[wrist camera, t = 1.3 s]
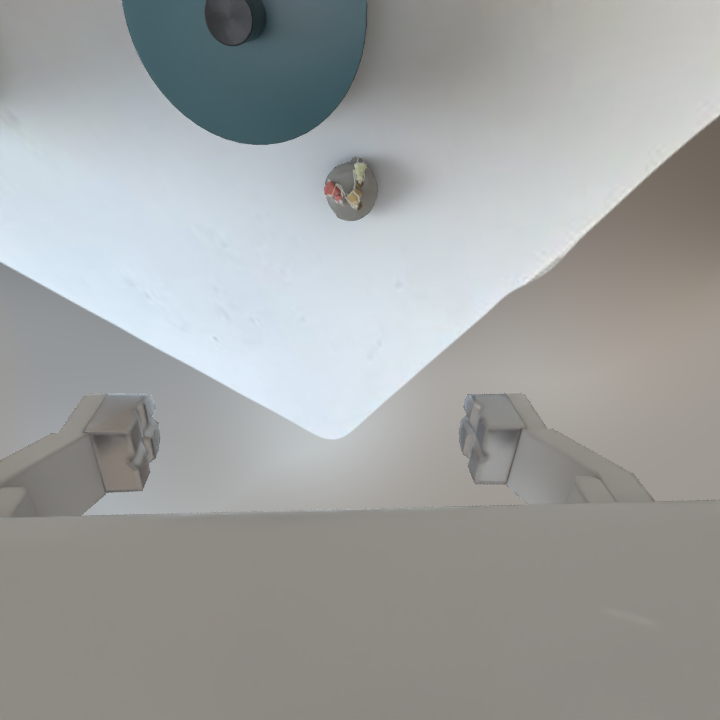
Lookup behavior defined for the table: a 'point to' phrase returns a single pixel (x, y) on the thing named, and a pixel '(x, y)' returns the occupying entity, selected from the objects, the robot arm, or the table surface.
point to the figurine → (351, 190)
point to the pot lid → (250, 61)
